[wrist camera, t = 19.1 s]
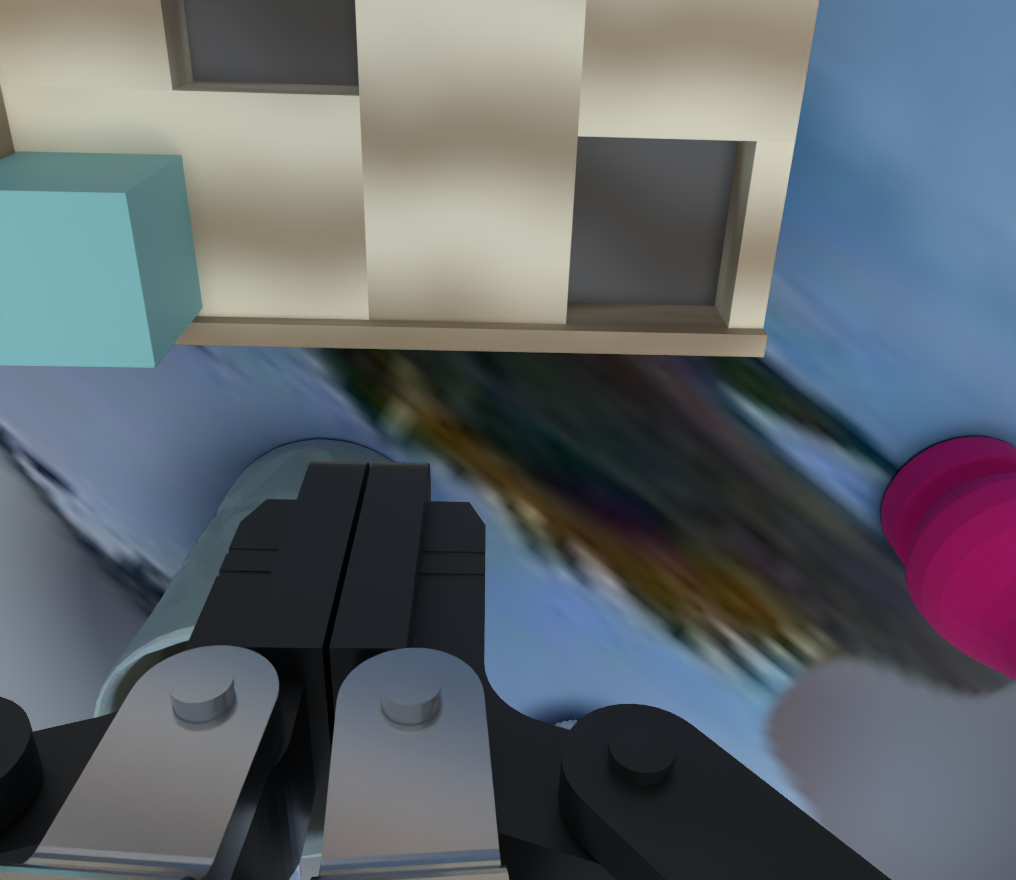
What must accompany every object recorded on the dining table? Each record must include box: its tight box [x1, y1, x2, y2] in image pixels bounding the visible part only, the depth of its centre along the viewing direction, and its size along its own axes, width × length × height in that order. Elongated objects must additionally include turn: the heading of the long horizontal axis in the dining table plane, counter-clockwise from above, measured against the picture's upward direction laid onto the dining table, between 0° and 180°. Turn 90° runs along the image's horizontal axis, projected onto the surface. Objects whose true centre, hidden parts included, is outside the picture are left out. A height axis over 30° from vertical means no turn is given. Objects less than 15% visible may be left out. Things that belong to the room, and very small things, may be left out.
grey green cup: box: [93, 439, 392, 858], centre depth 33 cm, size 10×10×12 cm
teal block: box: [0, 151, 203, 368], centre depth 28 cm, size 5×5×5 cm
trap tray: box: [0, 0, 819, 357], centre depth 28 cm, size 15×25×4 cm, turn 88°
